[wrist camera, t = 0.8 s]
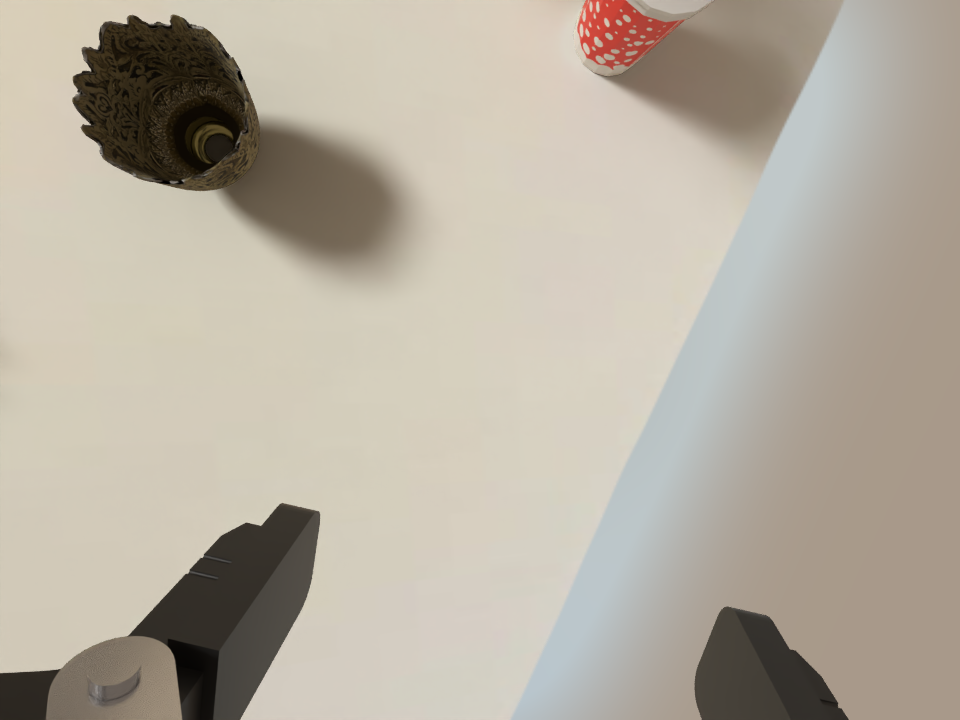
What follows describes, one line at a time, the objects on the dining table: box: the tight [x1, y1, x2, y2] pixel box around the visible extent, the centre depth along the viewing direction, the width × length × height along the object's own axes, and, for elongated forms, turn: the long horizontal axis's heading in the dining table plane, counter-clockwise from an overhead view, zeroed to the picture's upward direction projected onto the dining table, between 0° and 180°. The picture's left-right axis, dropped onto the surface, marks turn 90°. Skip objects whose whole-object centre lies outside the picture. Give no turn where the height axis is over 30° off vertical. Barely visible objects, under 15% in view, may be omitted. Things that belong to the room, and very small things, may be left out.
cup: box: [72, 15, 260, 191], centre depth 29 cm, size 8×7×8 cm
